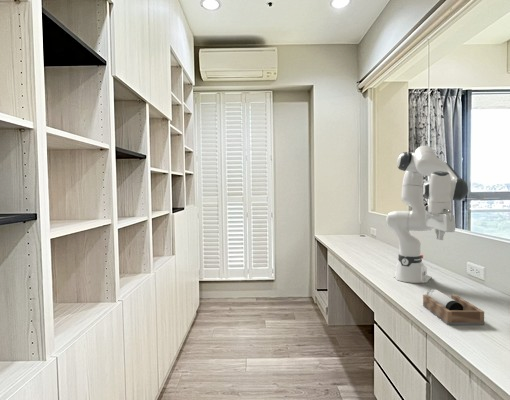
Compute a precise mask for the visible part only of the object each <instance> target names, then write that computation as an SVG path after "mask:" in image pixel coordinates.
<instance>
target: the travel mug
mask: <svg viewBox="0 0 510 400" xmlns="http://www.w3.org/2000/svg"><path fill="white" fill-rule="evenodd" d="M426 295H428V296H430V297H431V298H432V299H434V300H435V301H437V302H438V303H440V304H441V305H443V306H444V307H446V308H447V309H448V310H463V306H462V305H461V304H460V303H458V302H457V301H455V300H453V299H452V298H451V296H450V297H449V296H448V295H446V294H445V293H443V292H441V291H440V290H438V289H436V288H431V289H430V290H428V291H427V292H426Z"/></svg>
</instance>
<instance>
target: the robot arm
mask: <svg viewBox="0 0 510 400" xmlns="http://www.w3.org/2000/svg"><path fill="white" fill-rule="evenodd" d="M396 165H397V168H398V170H400V171H403V172H404V174H403V178H402V185H401V195H400V199H401V201H402V203H403V204H405V205H406V206H408V207H410V208H411V210H394V211H389V213H388V214H386V217H385V223H386V226H387V227H388V228H389V229H390V230H392V231H393V232H394V234H395V235H396V238H397V241H398V250H399V251H398V252H399V253H398V256H397V260H398V261H397V262H396V265H395V274H393V275H392V276H393V278H395V279H396V280H397V281H399V282H403V283H410V284H411V283H413V284H414V283H416V284H419V283H422V284H424V283H428V282H429V281H430V279H431V278H432V275H431V274H428V268H427V266H426V265H425V264H424V263H423V260H422V259H424V255H423V254H421V241H420V240H419V239H418V238H417V237H415V236H413V235H411V234H410V231H414V232H416V231H417V232H427V231H431V230H432V229H434V233H435V235H436V236H435V238H436V240H439V241H444V236H445V233H454V232H455V231H456V217H455V215H454V213H452V201H462V200H463V199H464V198H465V197H467V195H468V191H469V187H468V184H467V182H466V181H465V180H464V179H463V178H461V177H460V176H459V174H458V173H457V172H456V171H455V169H454V168H453V167H452V166H451V165H450V164H449V163H447V162H445V161H444V160H441V159H440V158H439V156H438V155H437V154H436V152H435V151H434V149H433V148H432V147H430V146H429V145H421V146H418V147H417V148H416V149H415V150H414V152H412V151H411V152H410V151H404V152H401V153H400V154H399V155H398V157H397V158H396ZM424 176H427V177H429V179H426V181H424ZM423 197H424V198H425V199H427V200H428V202H429V203H428V204H427V205H426V206H425V204H424V199H423Z"/></svg>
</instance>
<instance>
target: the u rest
mask: <svg viewBox="0 0 510 400" xmlns="http://www.w3.org/2000/svg"><path fill="white" fill-rule="evenodd" d="M450 295H451V296H450V298H452V299H453V300H455V301H457V302H458V303H460V304H461V305H462V306H463V310H448V309H447V308H446V307H444V306H443V305H441V304H440V303H438V302H437V301H435V300H434V299H432V298H431V297H430V296H428V295H427V294H422V306H423V307H424V308H425V309H426V310H427V311H429V312H430V313H431V314H432V315H433V316H437V317H436V318H437V319H438V320H440V319H441V320H440V321H442V322H443V323H444V324H445V325H447V326H485V311H484V310H482V309H481V308H478V307H477V306H476V305H473V304H472V303H470V302H469V301H468V300H465V299H464V298H461V296H459V295H457V294H455V293H454V294H450Z"/></svg>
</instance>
